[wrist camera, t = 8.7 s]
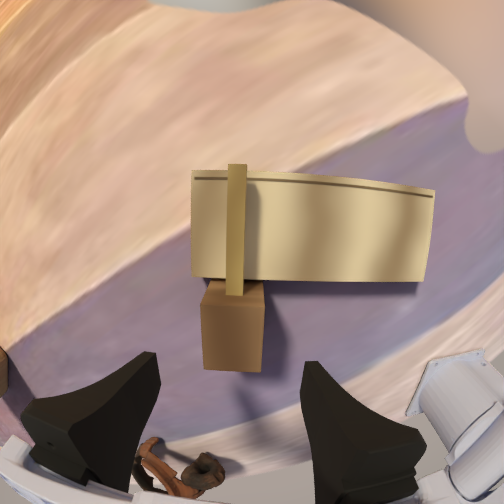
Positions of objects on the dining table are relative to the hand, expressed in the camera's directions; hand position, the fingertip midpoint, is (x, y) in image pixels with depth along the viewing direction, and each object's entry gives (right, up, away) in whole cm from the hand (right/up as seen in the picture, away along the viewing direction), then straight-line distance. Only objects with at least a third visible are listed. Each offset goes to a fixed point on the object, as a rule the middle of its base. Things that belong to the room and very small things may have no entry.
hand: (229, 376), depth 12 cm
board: (+6, +8, +7) cm, 12 cm away
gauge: (0, +6, +8) cm, 9 cm away
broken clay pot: (-7, -18, +14) cm, 24 cm away
